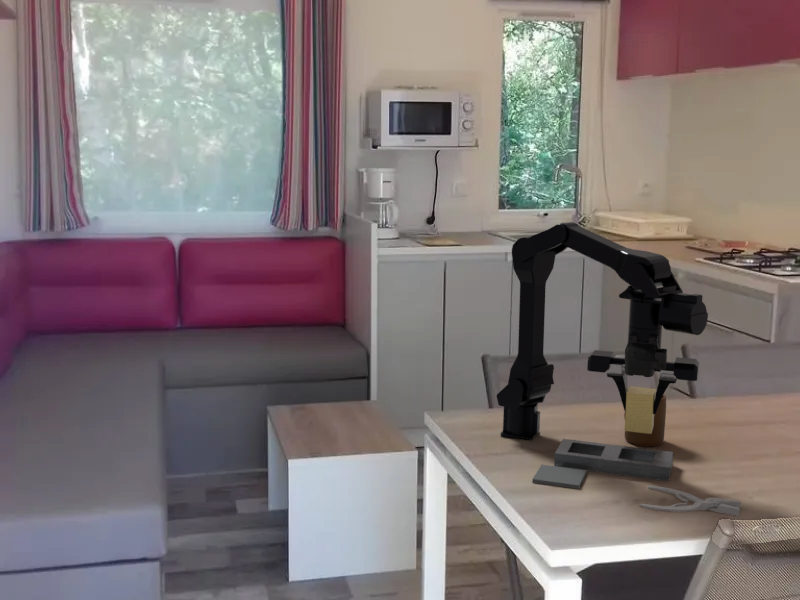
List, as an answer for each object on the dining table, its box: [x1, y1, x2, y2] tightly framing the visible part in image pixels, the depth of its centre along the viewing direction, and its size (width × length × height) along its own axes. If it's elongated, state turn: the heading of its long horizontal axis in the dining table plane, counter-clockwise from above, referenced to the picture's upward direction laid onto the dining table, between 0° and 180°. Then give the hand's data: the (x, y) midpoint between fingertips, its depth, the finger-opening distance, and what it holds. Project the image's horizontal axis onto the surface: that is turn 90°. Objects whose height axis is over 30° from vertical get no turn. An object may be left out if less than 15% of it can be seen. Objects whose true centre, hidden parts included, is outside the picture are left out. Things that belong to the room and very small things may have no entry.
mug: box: [623, 393, 667, 447], centre depth 185 cm, size 12×8×9 cm, turn 140°
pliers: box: [638, 485, 741, 516], centre depth 155 cm, size 10×2×15 cm
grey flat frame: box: [553, 438, 674, 482], centre depth 172 cm, size 20×9×2 cm, turn 70°
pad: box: [531, 464, 587, 490], centre depth 166 cm, size 8×8×1 cm
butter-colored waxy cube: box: [624, 386, 657, 434], centre depth 169 cm, size 5×5×7 cm
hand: (640, 412), depth 169 cm, fingers closed on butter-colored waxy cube, 5 cm apart
